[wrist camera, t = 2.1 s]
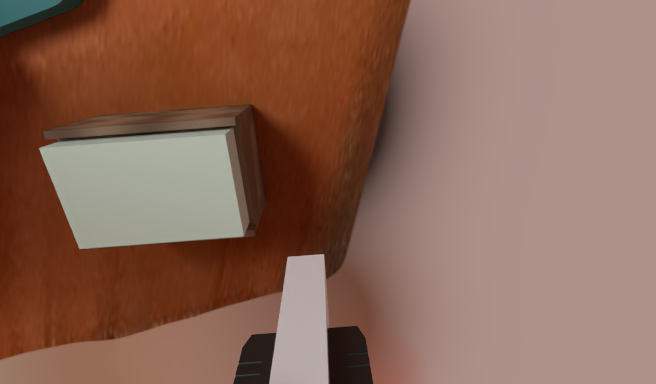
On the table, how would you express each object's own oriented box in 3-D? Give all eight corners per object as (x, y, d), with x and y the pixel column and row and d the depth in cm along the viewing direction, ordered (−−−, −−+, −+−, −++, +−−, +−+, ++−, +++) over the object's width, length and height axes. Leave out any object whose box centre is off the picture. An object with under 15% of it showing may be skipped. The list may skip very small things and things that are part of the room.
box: (131, 213, 35) (88, 249, 28) (99, 115, 31) (42, 131, 24) (266, 202, 35) (255, 236, 28) (251, 104, 31) (234, 117, 24)
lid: (98, 233, 29) (79, 249, 26) (63, 139, 26) (38, 148, 23) (249, 221, 29) (243, 236, 27) (233, 127, 26) (225, 134, 23)
